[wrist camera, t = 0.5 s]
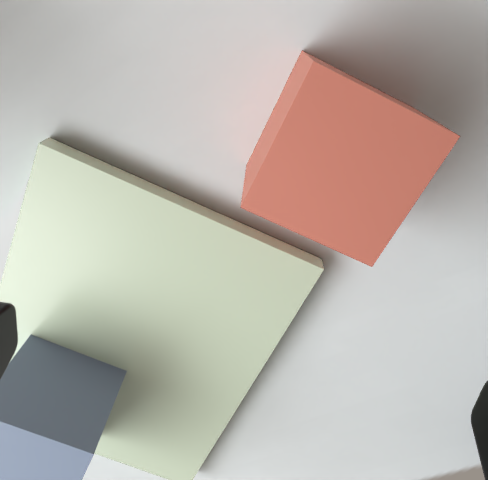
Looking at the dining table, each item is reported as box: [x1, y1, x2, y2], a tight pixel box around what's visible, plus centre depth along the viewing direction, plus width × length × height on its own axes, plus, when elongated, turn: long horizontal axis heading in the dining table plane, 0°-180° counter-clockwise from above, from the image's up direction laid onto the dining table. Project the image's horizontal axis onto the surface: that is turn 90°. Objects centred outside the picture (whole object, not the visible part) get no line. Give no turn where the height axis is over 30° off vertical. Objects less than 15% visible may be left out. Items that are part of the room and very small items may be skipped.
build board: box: [0, 138, 324, 480], centre depth 23 cm, size 13×16×1 cm
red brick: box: [241, 51, 460, 267], centre depth 17 cm, size 5×5×5 cm
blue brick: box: [0, 335, 127, 480], centre depth 22 cm, size 5×5×5 cm
